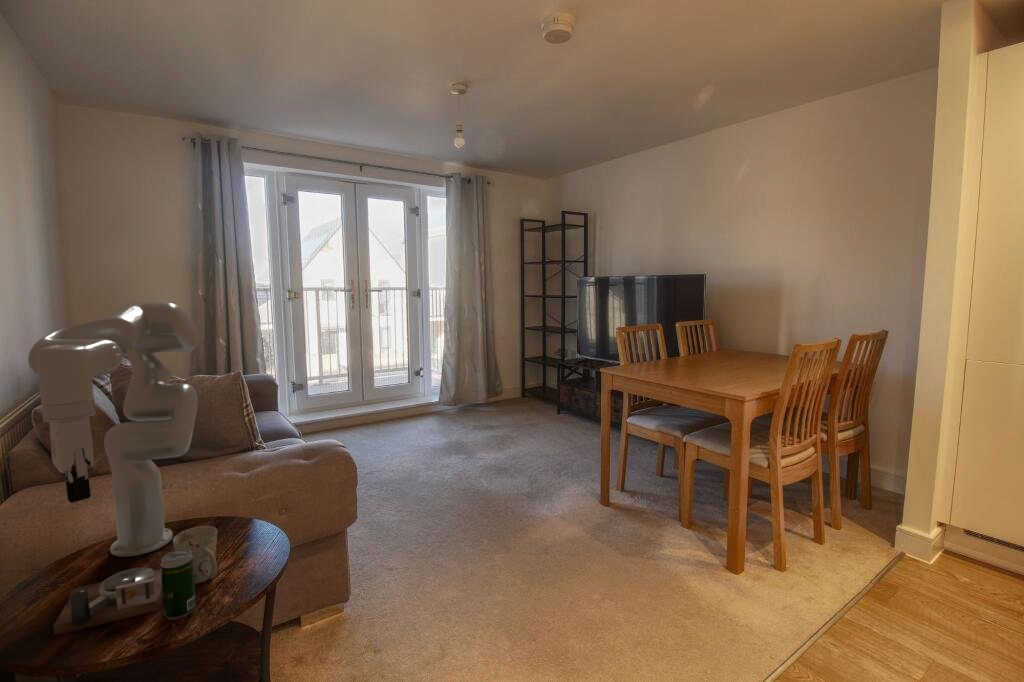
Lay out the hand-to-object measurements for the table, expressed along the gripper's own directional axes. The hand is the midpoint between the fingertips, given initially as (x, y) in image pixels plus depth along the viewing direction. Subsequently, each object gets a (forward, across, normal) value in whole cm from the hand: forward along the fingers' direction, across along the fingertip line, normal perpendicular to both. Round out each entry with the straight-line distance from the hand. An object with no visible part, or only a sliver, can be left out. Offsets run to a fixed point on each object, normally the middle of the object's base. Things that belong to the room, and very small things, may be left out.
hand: (79, 499), depth 97 cm
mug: (+24, +7, +18) cm, 31 cm away
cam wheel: (+21, +5, +3) cm, 22 cm away
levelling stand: (+23, +3, +4) cm, 24 cm away
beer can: (+23, +16, +11) cm, 30 cm away
